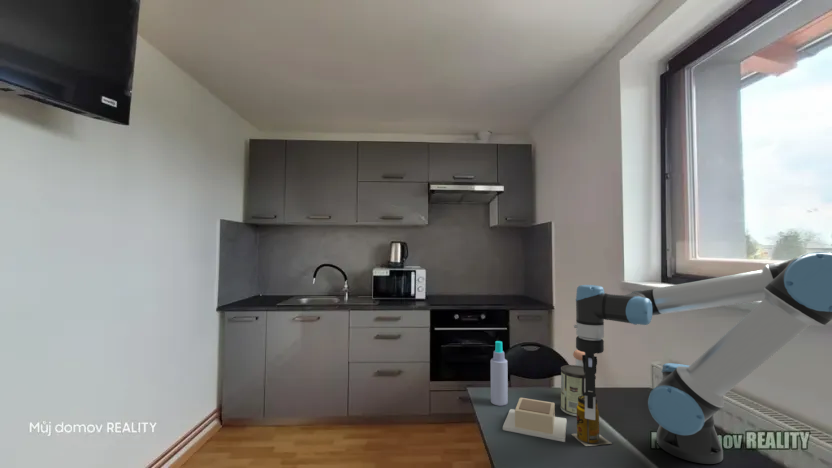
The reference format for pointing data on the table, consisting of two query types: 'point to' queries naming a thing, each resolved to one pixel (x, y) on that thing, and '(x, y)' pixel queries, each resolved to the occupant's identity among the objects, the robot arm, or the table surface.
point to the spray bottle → (499, 376)
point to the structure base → (554, 436)
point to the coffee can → (571, 388)
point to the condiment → (588, 426)
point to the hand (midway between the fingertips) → (589, 409)
